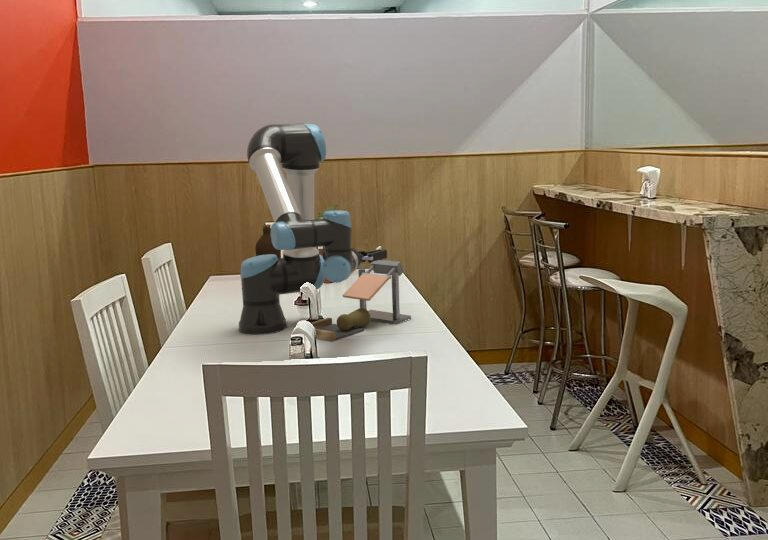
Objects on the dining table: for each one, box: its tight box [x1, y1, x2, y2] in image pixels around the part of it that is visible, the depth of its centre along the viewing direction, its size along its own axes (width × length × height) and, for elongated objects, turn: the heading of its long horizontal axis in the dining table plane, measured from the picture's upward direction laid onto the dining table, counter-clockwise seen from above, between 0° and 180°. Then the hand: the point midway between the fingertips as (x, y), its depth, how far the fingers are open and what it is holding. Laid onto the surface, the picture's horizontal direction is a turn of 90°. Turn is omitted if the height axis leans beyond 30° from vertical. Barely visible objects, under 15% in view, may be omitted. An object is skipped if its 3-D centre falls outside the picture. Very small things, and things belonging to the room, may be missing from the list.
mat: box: [318, 323, 365, 341], centre depth 232 cm, size 13×13×1 cm
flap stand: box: [357, 268, 412, 325], centre depth 246 cm, size 9×17×16 cm, turn 51°
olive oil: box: [254, 224, 282, 259], centre depth 316 cm, size 11×11×25 cm
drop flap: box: [342, 259, 405, 302], centre depth 242 cm, size 19×12×4 cm, turn 141°
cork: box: [336, 307, 371, 331], centre depth 234 cm, size 6×6×11 cm
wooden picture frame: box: [311, 316, 337, 342], centre depth 231 cm, size 15×14×2 cm
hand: (359, 250), depth 238 cm, fingers open, 13 cm apart
